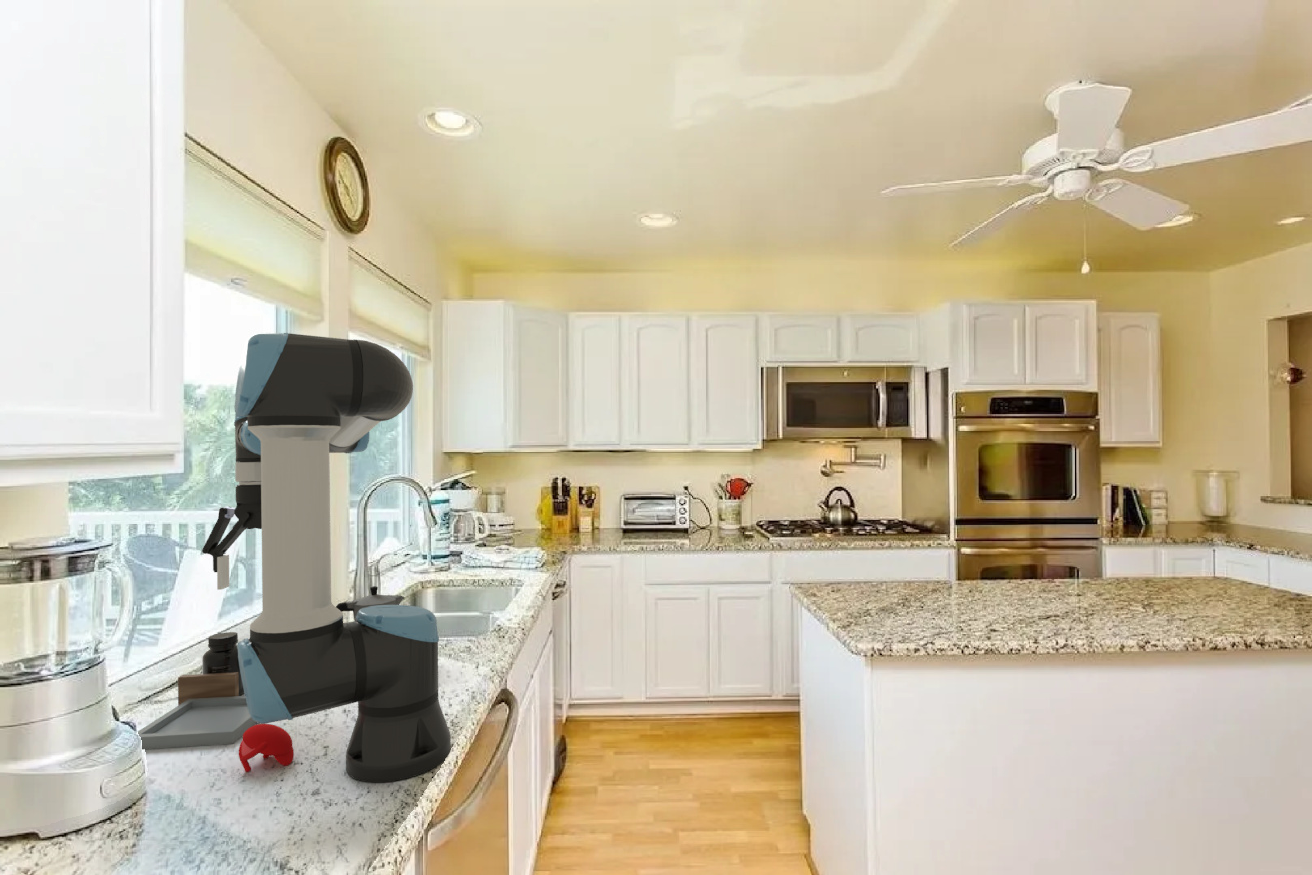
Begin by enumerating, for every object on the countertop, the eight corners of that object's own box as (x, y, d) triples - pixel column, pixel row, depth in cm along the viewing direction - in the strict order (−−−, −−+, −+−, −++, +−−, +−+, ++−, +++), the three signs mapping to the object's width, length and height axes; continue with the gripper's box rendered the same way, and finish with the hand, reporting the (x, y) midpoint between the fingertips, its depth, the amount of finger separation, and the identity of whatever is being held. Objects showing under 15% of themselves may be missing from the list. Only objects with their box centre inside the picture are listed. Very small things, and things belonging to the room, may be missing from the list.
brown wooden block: (235, 706, 120) (235, 674, 120) (178, 709, 119) (178, 677, 119) (265, 683, 132) (265, 654, 132) (213, 686, 130) (213, 657, 130)
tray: (233, 743, 105) (232, 731, 105) (127, 750, 103) (127, 737, 103) (279, 704, 121) (279, 693, 121) (188, 709, 119) (188, 698, 119)
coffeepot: (396, 656, 148) (395, 578, 148) (413, 666, 141) (412, 584, 141) (324, 673, 137) (323, 590, 137) (339, 685, 130) (338, 597, 130)
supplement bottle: (252, 689, 128) (252, 630, 129) (226, 703, 122) (226, 640, 122) (221, 689, 129) (220, 629, 129) (193, 702, 122) (193, 640, 122)
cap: (221, 755, 94) (252, 736, 93) (243, 725, 100) (272, 706, 99) (261, 788, 97) (291, 770, 96) (280, 757, 102) (309, 739, 102)
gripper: (329, 480, 134) (329, 581, 134) (204, 482, 132) (205, 584, 132) (312, 483, 127) (313, 589, 127) (180, 485, 125) (181, 593, 125)
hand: (258, 587), depth 130 cm, fingers open, 13 cm apart
